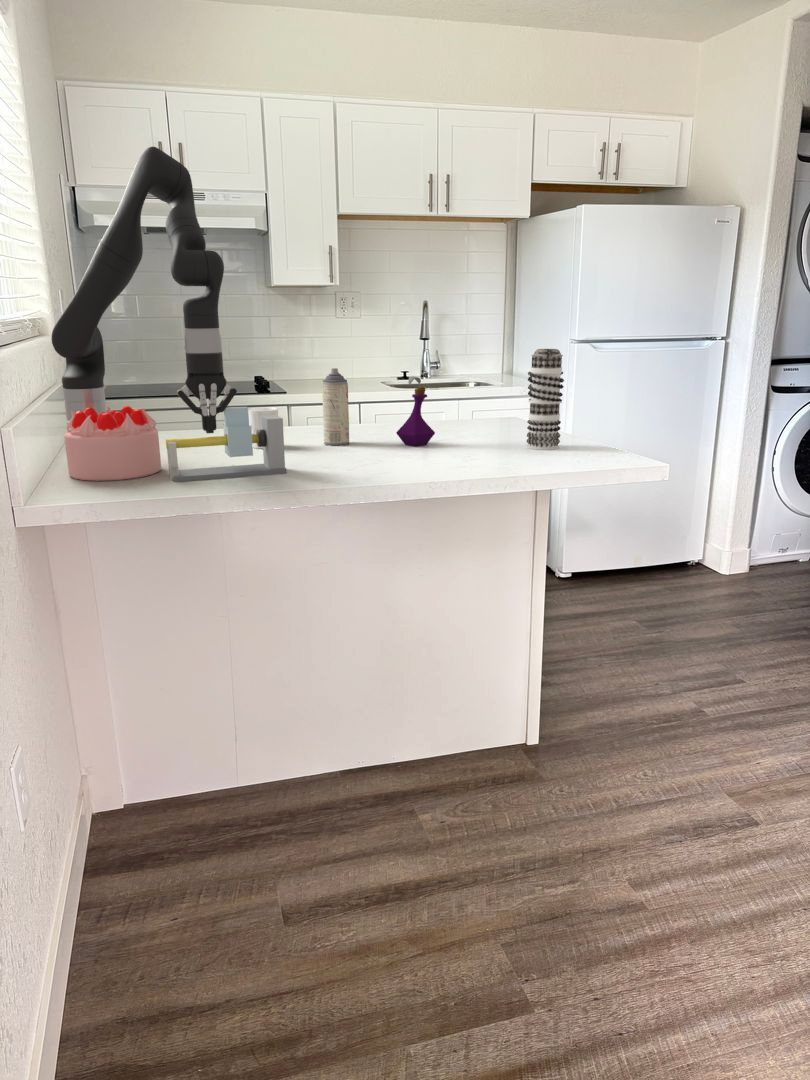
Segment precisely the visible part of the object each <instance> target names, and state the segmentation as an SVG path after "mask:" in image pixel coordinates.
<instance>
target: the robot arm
mask: <svg viewBox="0 0 810 1080" xmlns="http://www.w3.org/2000/svg"><path fill="white" fill-rule="evenodd" d="M193 188H194V187H193V182H192V178H191V174H190V171H189V170H188V168H187V167H186V166H185V165H184V164H182V162H180V161H178V160H177V159H175V158H173V157H172V156H171V155H170V154H167V153H166V152H165V151H163V150H161V149H160V148H158V147H156V146H149V147H147V148H146V149H144V151H143V152H142V154H141V155H140V156H139V158H138V160H137V161H136V164H135V166H134V168H133V170H132V173H131V175H130V177H129V180H128V183H127V184H126V188H125V190H124V192H123V195H122V197H121V200H120V202H119V205H118V207H117V209H116V211H115V214H114V215H113V217H112V219H111V221H110V224H109V225H108V227H107V228H106V230H105V233H103V236H102V237H101V240H100V241H99V243H98V246H97V247H96V249H95V251H94V253H93V255H92V257H91V260H90V263H89V264H88V266H87V268H86V271H85V272H84V274H83V276H82V278H81V281H80V283H79V285H78V287H77V289H76V292H75V293H74V295H73V297H72V298H71V300H70V302H69V303H68V305H67V307H66V308H65V309H64V311H63V312H62V314H61V315H60V317H59V319H58V320H57V321H56V323H55V325H54V326H53V328H52V332H51V344H52V347H53V349H54V350H55V352H56V353H57V354H58V355H59V356H60V357H62V358H64V359H65V362H66V363H65V364H66V365H65V370H64V372H63V375H62V376H61V384H62V391H63V399H64V400H63V401H64V408H65V413H66V414H65V415H66V425H67V424H68V422H69V421H70V420H71V418H72V414H71V410H72V412H73V413H75V414H76V413H77V412H79V411H82V412H84V411H85V410H86V409H87V408H93V409H95V410H96V412H97V413H98V415H100V413H102V412H106V413H107V402H106V393H105V385H104V384H105V383H104V379H105V378H104V377H105V375H106V365H105V353H104V352H105V349H104V342H103V336H102V333H101V330H100V329H99V327H98V326H99V323H100V321H101V318H102V317H103V315H104V314H105V312H106V310H107V309H108V308H109V306H111V304H113V303H114V301H115V300H116V299H117V298H118V297H119V296H120V294H121V293H122V292H123V291H124V290H125V289H126V288H127V286H128V285H129V283H130V282H131V280H132V278H133V277H134V274H135V273H136V271H137V269H138V267H139V265H140V264H141V261H142V259H143V253H144V252H143V251H144V249H143V248H144V246H143V245H144V244H143V234H142V223H141V222H142V220H141V218H142V211H143V207H144V205H145V201H146V198H147V197H148V194H150V195H152V196H153V197H155V198H156V199H158V200H160V201H161V202H164V203H166V204H167V205H169V207H170V208H171V210H170V211H169V212H168V214H167V216H166V218H165V231H166V233H167V237H168V241H169V244H170V245H171V246H170V247H171V253H172V255H171V261H170V273H171V276H172V277H171V278H173V280H174V282H175V283H177V284H178V285H180V286H181V287H182V286H184V287H205V290H204V292H203V294H202V295H201V296H198V297H193V298H189V299H186V300H185V301H184V302H183V305H182V309H183V310H182V312H183V323H184V324H183V325H184V351H185V352H184V353H185V363H186V364H185V365H186V374H187V375H186V379H185V385H184V386H182V388H180V389H177V390H176V395H177V396H178V397H179V398H180V399H181V400H182V401H183V403H185V404H186V406H187V407H188V408H189V409H190V410H191V411H192V412H193V413H194V414H197V415H200V416H201V425H202V430H203V431H205V433H206V434H214V433H215V431H217V415H218V414H220V413H224V410H225V409H226V408H228V406H229V404H230V403H231V401H232V400H233V398H234V397H235V395H236V394H237V389H236V388H235V387H232V386H231V385H230V384H228V381H227V379H226V377H225V374H224V373H225V371H224V361H223V348H222V346H223V345H222V338H221V336H222V335H221V331H220V320H219V300H220V292H221V287H222V284H223V283H222V282H223V278H224V273H225V264H224V261H223V258H222V256H221V255H220V254H219V253H218V252H216V251H215V250H210V249H209V250H207V248H206V247H207V244H206V240H205V237H204V233H203V232H202V231H203V230H202V229H201V226H200V223H199V221H198V217H197V213H196V205H195V196H194V191H193V190H194V189H193ZM189 391H190V392H191V393H192V394H193V396H194V397H195V398H196V399H198V404H199V407H198V406H197V405H196V404H195V403H194V402H193V401H192V400H191V399H190V398H189V397H190V392H189ZM222 392H223V393H224V396H223V398H222V399H221V400H220V402H219V404H218V405H217V399H218V398H219V397H220V396H221V394H222ZM207 400H208V402H207Z"/></svg>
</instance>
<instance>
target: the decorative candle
mask: <svg viewBox="0 0 810 1080" xmlns="http://www.w3.org/2000/svg"><path fill="white" fill-rule="evenodd" d="M563 356H564V355H563V354H562V353H561V351H560V349H558V348H537V349H536V350H535V351H534V353H533V354H531V367H530V371H528V372H527V374H528V378H527V381H528V382H529V383H530V384H528V386H527V389H528V392H527V395H528V396H529V397H530V398H529V399H528V403H529V413H528V419H527V424H529V425H528V426H527V427H526V429H527V430H529V431H528V432H527V434H526V437H527V439H526V443H527V445H526V448H527V449H530V450H536V451H552V450H558V449H560V445H559V444H560V443H561V440H560V439H559V438H560V437H561V434H560V432H559V431H560V430H561V426H559V425H560V424H561V423H562V422H561V420H560V419H561V418H560V417H561V413H560V404H561V403H562V401H563V399H561V397H563V393H562V392H561V391H560V390H562V389H563V388H564V385H563V384H562V383H564V382H565V379H564V378H563V377H561V376H562V375H563V374H564V372H563V367H562V363H563Z"/></svg>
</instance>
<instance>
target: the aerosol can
mask: <svg viewBox="0 0 810 1080" xmlns="http://www.w3.org/2000/svg"><path fill="white" fill-rule="evenodd" d="M321 389H322V391H321V393H322V395H321V396H322V420H323V423H322V424H323V426H322V427H323V441H324V442H323V445H324V444H325V446H328V445H331V447H341V446H340V445H343V446H348V445H350V416H349V411H350V410H349V384H348V380H347V379H345V377H344V375H342V374H341V373H340V372H339V368H337V367H336V368H335V367H333V368H331V369H330V372H329V374H328V375H326V377H325V379H323V380H322V384H321Z"/></svg>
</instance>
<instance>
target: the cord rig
mask: <svg viewBox="0 0 810 1080" xmlns="http://www.w3.org/2000/svg"><path fill="white" fill-rule="evenodd" d="M283 419H284V418H283V417H281V416H280V415H278V416H277V415H272V416H261V420H262V430H257V431H256V434H252V443H257V445H258V447H263V449H262V451H263V463H255V464H254V463H253V464H242V465H228V466H227V465H226V466H215V467H214V466H213V467H200V468H199V467H198V468H187V469H179V463H178V450H177V449H183V448H184V449H186V448H200V447H217V446H218V447H219V446H225V445H228V440H227V436H224V435H217V436H201V437H200V436H199V437H185V438H184V437H183V438H168V439H165V447H166V450H167V451H166V452H167V462H168V473H169V478H170V479H171V481H173V482H175V483H178V482H179V483H180V482H192V481H202V480H203V481H204V480H216V479H217V480H218V479H226V478H227V479H228V478H239V477H240V478H242V477H254V476H265V475H266V476H267V475H278V474H287V468H286V461H285V459H286V458H285V457H286V456H285V438H284V436H285V435H284V420H283Z"/></svg>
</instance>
